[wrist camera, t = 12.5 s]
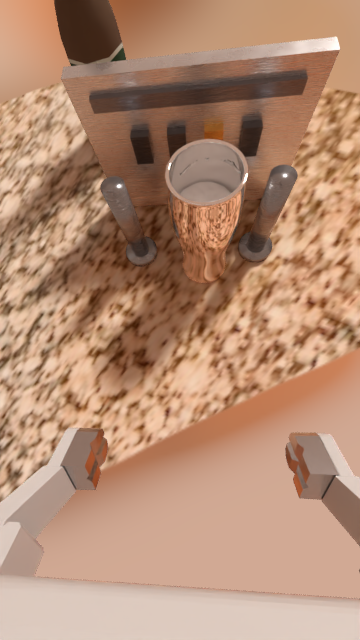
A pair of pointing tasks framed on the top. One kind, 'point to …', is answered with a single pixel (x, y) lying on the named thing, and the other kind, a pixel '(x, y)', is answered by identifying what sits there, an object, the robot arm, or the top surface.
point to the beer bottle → (89, 31)
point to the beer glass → (205, 203)
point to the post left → (128, 222)
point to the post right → (268, 214)
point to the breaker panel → (200, 108)
